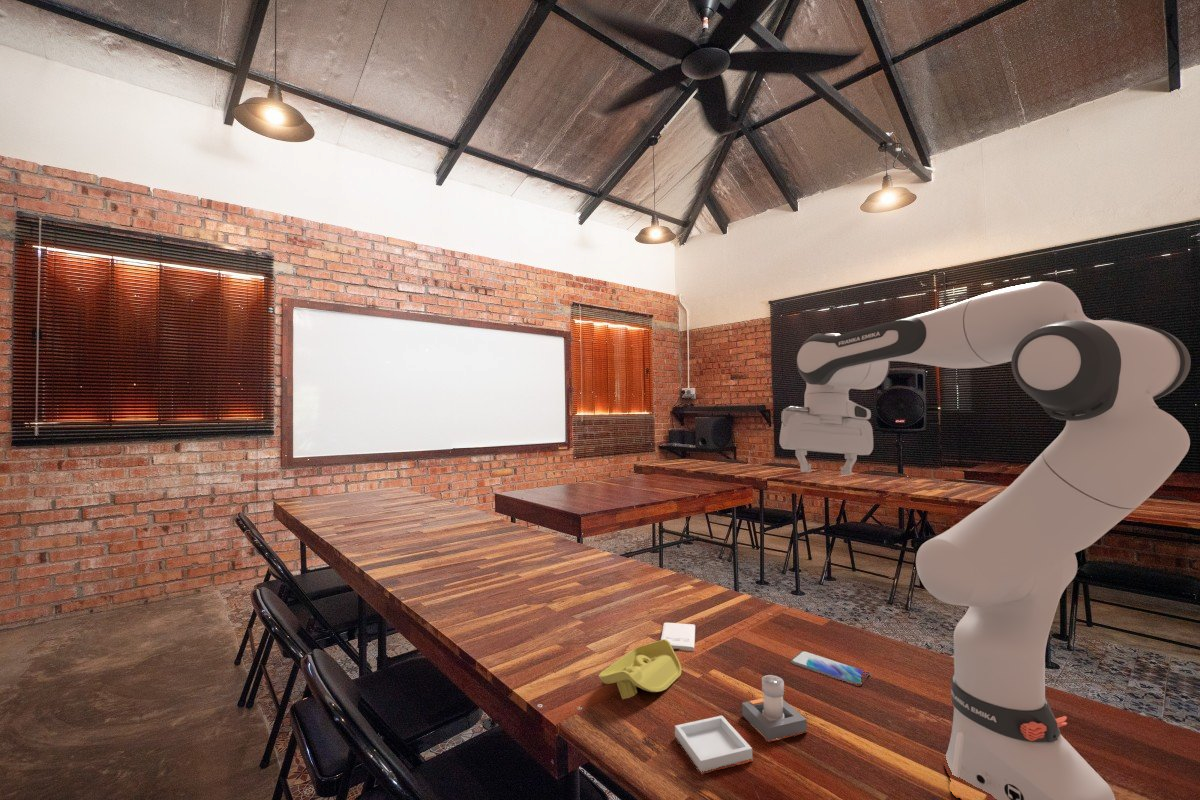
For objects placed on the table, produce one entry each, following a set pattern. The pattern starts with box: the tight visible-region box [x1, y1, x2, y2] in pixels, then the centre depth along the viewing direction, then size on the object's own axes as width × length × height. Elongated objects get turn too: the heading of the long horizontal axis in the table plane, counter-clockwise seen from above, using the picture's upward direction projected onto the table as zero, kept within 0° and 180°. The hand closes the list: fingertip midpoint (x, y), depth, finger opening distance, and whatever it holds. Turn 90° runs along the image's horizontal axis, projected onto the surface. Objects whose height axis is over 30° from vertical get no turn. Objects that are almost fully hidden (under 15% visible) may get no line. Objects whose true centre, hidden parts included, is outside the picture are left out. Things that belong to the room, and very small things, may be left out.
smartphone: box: [790, 650, 871, 684], centre depth 113 cm, size 7×1×15 cm
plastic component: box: [598, 639, 682, 700], centre depth 107 cm, size 20×7×10 cm
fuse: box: [761, 674, 785, 721], centre depth 93 cm, size 4×4×8 cm
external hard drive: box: [660, 622, 696, 652], centre depth 128 cm, size 2×8×12 cm
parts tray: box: [674, 714, 753, 772], centre depth 87 cm, size 9×9×2 cm
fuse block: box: [741, 697, 808, 740], centre depth 93 cm, size 8×8×3 cm
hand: (826, 473), depth 109 cm, fingers open, 8 cm apart
